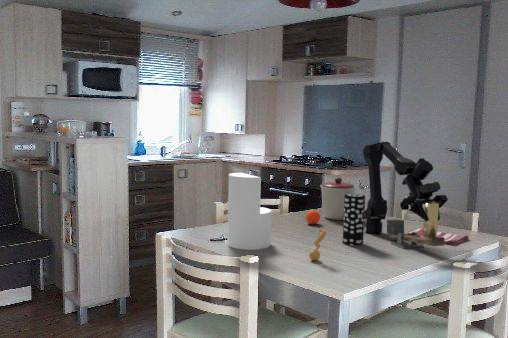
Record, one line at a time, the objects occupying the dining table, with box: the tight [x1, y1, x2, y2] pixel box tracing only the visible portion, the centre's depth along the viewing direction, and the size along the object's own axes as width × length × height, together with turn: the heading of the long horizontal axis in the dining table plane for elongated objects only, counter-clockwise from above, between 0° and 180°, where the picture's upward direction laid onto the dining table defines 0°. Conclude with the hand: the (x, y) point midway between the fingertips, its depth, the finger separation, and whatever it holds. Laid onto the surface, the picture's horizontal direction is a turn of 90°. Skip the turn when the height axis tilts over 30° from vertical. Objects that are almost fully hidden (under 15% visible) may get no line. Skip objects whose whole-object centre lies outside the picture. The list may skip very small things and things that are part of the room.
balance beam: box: [386, 219, 445, 247], centre depth 207 cm, size 29×5×7 cm, turn 21°
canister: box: [319, 176, 357, 221], centre depth 263 cm, size 18×18×21 cm
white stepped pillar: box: [227, 172, 272, 251], centre depth 206 cm, size 17×17×28 cm
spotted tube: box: [342, 193, 366, 247], centre depth 212 cm, size 8×8×20 cm
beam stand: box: [390, 232, 425, 250], centre depth 211 cm, size 8×10×5 cm
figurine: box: [308, 228, 327, 262], centre depth 185 cm, size 8×6×12 cm
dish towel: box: [404, 227, 470, 247], centre depth 226 cm, size 17×23×3 cm
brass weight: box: [422, 202, 440, 238], centre depth 197 cm, size 5×5×13 cm
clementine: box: [305, 209, 321, 225], centre depth 248 cm, size 8×7×7 cm
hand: (433, 220), depth 196 cm, fingers closed on brass weight, 5 cm apart
